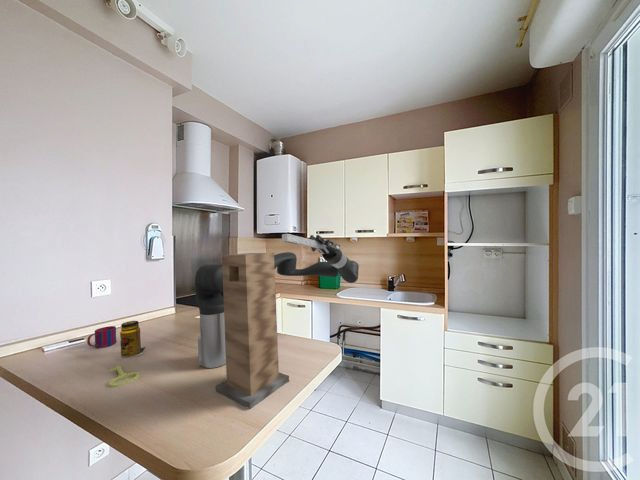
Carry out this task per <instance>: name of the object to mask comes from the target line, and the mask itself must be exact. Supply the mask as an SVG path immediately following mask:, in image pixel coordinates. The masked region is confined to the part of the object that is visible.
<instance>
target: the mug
mask: <svg viewBox="0 0 640 480" xmlns="http://www.w3.org/2000/svg"><path fill="white" fill-rule="evenodd" d="M93 336H94V344H91V338H92V337H93ZM86 341H87V345H88V346H89V347H92V348H95V349H103V348H109V347H112V346H115V345H116V344H117V328H116V326H115V325H112V326H111V325H110V326H108V325H107V326H103V327H99V328H97V329H95V330H94V333H92V334H90V335H89V336H88V337H87V340H86Z"/></svg>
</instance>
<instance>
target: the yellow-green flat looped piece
mask: <svg viewBox="0 0 640 480" xmlns="http://www.w3.org/2000/svg"><path fill="white" fill-rule="evenodd" d="M109 371H110V373H113V372H115V371H117V374H118V376H117V377H115V378H113V379H111V380H110V381H109V382H108V387H109V388H117V387H120V386H124V385H127V384H129V383H131V382H134V381H136V380H137V379H138V378H139V377H140V373H139V372H136V371H135V372H129V373H126V371H125V372H124V370H123V369H122V367H121V365H116V366H115V367H114V368H110V369H109ZM131 376H132V377H131ZM127 377H128V378H131V379H128V380H127V381H123V382H119V381H122V380H124V379H127ZM117 382H119V383H117Z"/></svg>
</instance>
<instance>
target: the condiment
mask: <svg viewBox="0 0 640 480" xmlns="http://www.w3.org/2000/svg"><path fill="white" fill-rule="evenodd" d="M120 327H121V328H120V329H121V330H120V332H119V337H120V355H119V356H118V357H117V360H121V359H128V358H134V357H137V356H141V355H142V354H143V353H144V351H145V350H146V348H147V346H143V347H142V344H141V341H142V340H141V328H140V323H139V321H138V320H130V321H125V322H123V323H121V324H120Z"/></svg>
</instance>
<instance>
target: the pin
mask: <svg viewBox="0 0 640 480" xmlns="http://www.w3.org/2000/svg"><path fill="white" fill-rule="evenodd" d="M281 242H284V243H289V244H294V245H297V246H303V247H307V248H311V247H313V248H318V249H324V248H323V246H322V245H321V244H320V243H319V242H318V241H315V240H311V239H310V238H307V237H303V236H299V235H294V234H290V233H282V234H281Z"/></svg>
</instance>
